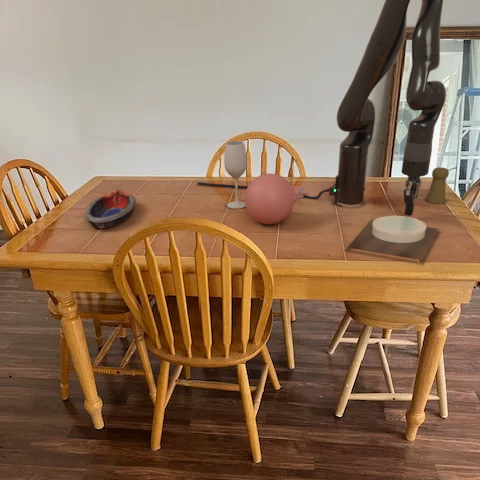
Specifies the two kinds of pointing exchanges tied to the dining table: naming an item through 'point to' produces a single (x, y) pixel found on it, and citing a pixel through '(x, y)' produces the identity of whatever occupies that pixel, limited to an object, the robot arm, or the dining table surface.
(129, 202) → the dish
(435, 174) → the olive pepper mill
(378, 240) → the board
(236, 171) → the wineglass
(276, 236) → the dining table surface
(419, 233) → the plate
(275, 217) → the balloon
